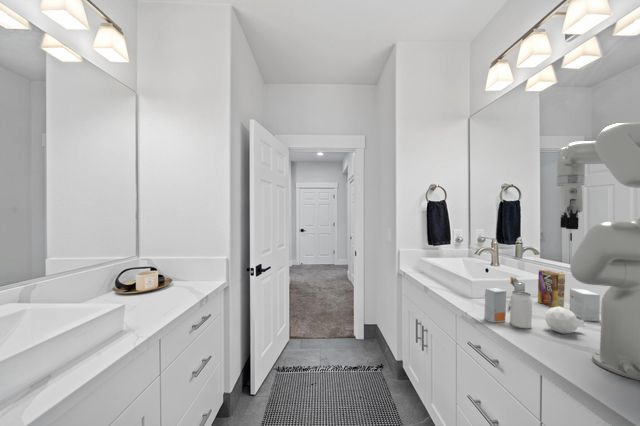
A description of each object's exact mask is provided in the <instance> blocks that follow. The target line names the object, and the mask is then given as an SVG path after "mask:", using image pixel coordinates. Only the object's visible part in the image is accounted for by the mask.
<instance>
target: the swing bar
mask: <svg viewBox="0 0 640 426" xmlns="http://www.w3.org/2000/svg"><path fill="white" fill-rule="evenodd" d="M509 279H510V280H509V281H510V283H509V284H510V285H512V286H513V287H514V288H513V291H522V292H525V290H526V289H525V288H526V287H525V285H526V284H525V282H522V281H519V280H518V279H517V277H514V276H510V278H509Z"/></svg>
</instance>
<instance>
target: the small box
mask: <svg viewBox="0 0 640 426" xmlns="http://www.w3.org/2000/svg"><path fill="white" fill-rule="evenodd" d="M600 297H601V296H600V294H598V293H595V292H592V291H590V290H587V289H582V288H581V289H580V288H570V289H569V310H570V311H571V312H573V313H574V314H575V316H576V318H577V319H580V320H584V321H585V322H586V321H589V322H600V313H601V312H600V311H601V310H600V303H601V302H600Z"/></svg>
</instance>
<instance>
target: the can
mask: <svg viewBox="0 0 640 426" xmlns="http://www.w3.org/2000/svg"><path fill="white" fill-rule="evenodd" d="M509 306H510V309H509V312H510V313H509V323H510V324H511V325H512V326H513V327H516V328H519V329H525V330H529V329H531V327H532V325H533V324H532V322H533V321H532V319H533V317H532V316H533V298H532V294H531V293H530V292H522V291H514V290H513V291H511V294H510V305H509Z"/></svg>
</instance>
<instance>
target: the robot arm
mask: <svg viewBox="0 0 640 426" xmlns="http://www.w3.org/2000/svg"><path fill="white" fill-rule="evenodd" d="M556 160H557V161H556V162H557V164H556V187H560V189H559V190H560V192H559V211H560V212H561V216H560V228H561V229H562V228H564V229H565V230H566V229H567V230H579V220H580V219H579V213H582V212H583V210H584V209H583V208H584V207H583V206H584V205H583V186H585V180H586V179H585V174H586V165H605V166H606V168H607V169H608V171H609V172H610V173H611V174H612V176H613V177H614V178H615V179H616V181H617V182H619V183H620V184H622V185H624V186H625V187H627V188H634V189H635V188H637V189H640V121H637V122H621V123H620V122H619V123H614V124H611V125H608V126H606V127H605V128H604V129H602V130H601V131H600V132H599V134H598V135H597V136H596V139H595V140H589V141H574V142H570V143H568V144H567V145H566V146H565V147H562V148H560V149H559V150H558V151H557V159H556ZM569 266H570V267H569V268H570V273H571V276H572V277H573V279H575V280H576V281H578V282H579V283H582V284H585V285H589V286H590V285H591V286H603V287H604V286H605V287H609V288H608V289H607V290H606V291H605V293H604V294H603V297H602V298H601V299H602V300H601V310H600V311H601V312H600V313H601V315H600V343H599V346H600V348H599V351H597V352H594V353H592V354H591V355H592V356H591V359H592V361H593V362H594V363H595V364H597V365H598V366H599V367H602V368H603V369H605V370H607V371H609V372H612V373H613V374H615V375H616V374H617V375H620V376H622V377H626V378H630V379H632V380H637V381H640V217H639V218H637V219H635V220H632V221H604V222H599V223H597V224H595V225H593V226H592V227H590V229H589V230H588V231H587V232H586V233H585V235H584V237H583V238H582V241H581V243H580V244H579V246H578V247H577V249H576V251H575V252H574V253H573V256H572V258H571V260H570V265H569Z"/></svg>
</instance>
